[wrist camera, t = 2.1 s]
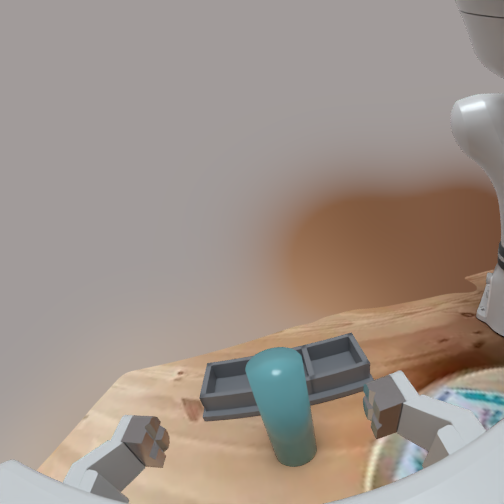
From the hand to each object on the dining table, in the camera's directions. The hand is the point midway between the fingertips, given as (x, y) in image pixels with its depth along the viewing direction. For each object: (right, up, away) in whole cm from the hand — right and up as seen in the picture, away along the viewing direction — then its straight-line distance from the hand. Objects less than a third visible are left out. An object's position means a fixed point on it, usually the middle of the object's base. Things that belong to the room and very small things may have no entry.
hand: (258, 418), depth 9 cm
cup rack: (+5, -14, +30) cm, 33 cm away
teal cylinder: (+5, -18, +17) cm, 25 cm away
